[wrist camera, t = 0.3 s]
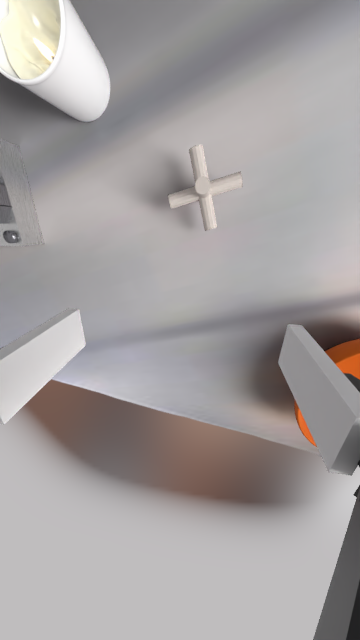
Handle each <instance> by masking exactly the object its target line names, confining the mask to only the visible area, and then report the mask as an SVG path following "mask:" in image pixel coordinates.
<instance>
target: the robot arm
mask: <svg viewBox="0 0 360 640" xmlns="http://www.w3.org/2000/svg"><path fill="white" fill-rule="evenodd" d="M85 345H86V343H85V338H84V333H83V328H82V322H81V317H80V312H79V309H70V308H68V309H66V310H64V311H63V312H61V313H59V314H58V315H56V316H54V317H53V318H51V319H49V320H48V321H46V322H44V323H43V324H41V325H39V326H38V327H36V328H34V329H33V330H31V331H29V332H28V333H26V334H24V335H23V336H21V337H19V338H18V339H16V340H14V341H13V342H11V343H9V344H8V345H6V346H4V347H2V348H1V349H0V424H3V425H4V424H5V423H6V422H7V421H8V420H9V419H10V418H11V417H13V415H15V413H17V412H18V411H19V410H20V409H21V408H22V407H23V406H24V405H25V404H26V403H27V402H28V401H29V400H30V399H31V398H32V397H33V396H34V395H35V394H36V393H37V392H38V391H39V390H40V389H41V388H42V387H43V386H44V385H45V384H46V383H47V382H48V381H49V380H50V379H52V378H53V377H54V376H55V375H56V374H57V373H58V372H59V371H60V370H61V369H62V368H63V367H64V366H65V365H66V364H67V363H68V362H69V361H70V360H71V359H72V358H73V357H74V356H75V355H76V354H77V353H78V352H79V351H80V350H81V349H82V348H83V347H84V346H85ZM278 364H279V366H280V368H281V370H282V372H283V375H284V377H285V379H286V381H287V383H288V385H289V388H290V390H291V392H292V394H293V396H294V398H295V400H296V403H297V405H298V407H299V409H300V411H301V413H302V416H303V418H304V420H305V422H306V424H307V426H308V429H309V431H310V433H311V435H312V437H313V439H314V441H315V444H316V446H317V448H318V450H319V452H320V454H321V457H322V459H323V461H324V463H325V465H326V467H327V470H328V472H331V473H338V474H345V475H352V474H353V472H354V471H355V469H356V467H357V466H358V465H359V467H360V380H359V379H358V378H356V377H355V376H353V375H352V374H349V373H343V372H342V371H341V370H340V369H339V368H338V367H337V366H336V364H335V363H334V362H333V361H332V360H331V359H330V357H329V356H328V355H327V354H326V353H325V352H324V350H323V349H322V348H321V347H320V346H319V345H318V343H317V342H316V341H315V340H314V339H313V338H312V336H311V335H310V334H309V333H308V332H307V331H306V330H305V328H304V327H303V326H302V325H293V324H288V326H287V330H286V334H285V337H284V341H283V345H282V349H281V353H280V357H279V361H278ZM354 496H356V497H357V499H356V502H355V505H354V509H353V512H352V515H351V519H350V522H349V525H348V528H347V532H346V535H345V538H344V541H343V545H342V548H341V551H340V554H339V558H338V561H337V564H336V568H335V571H334V574H333V577H332V580H331V584H330V587H329V590H328V593H327V597H326V600H325V603H324V607H323V610H322V613H321V616H320V619H319V623H318V626H317V629H316V632H315V636H314V639H313V640H360V486H359V487H358V489H357V490H356V492H355V494H354Z"/></svg>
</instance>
